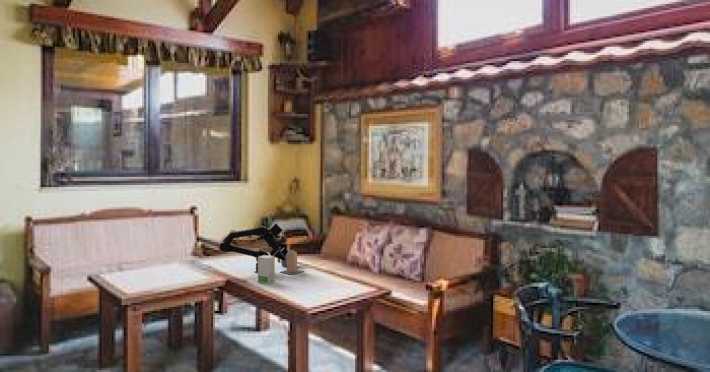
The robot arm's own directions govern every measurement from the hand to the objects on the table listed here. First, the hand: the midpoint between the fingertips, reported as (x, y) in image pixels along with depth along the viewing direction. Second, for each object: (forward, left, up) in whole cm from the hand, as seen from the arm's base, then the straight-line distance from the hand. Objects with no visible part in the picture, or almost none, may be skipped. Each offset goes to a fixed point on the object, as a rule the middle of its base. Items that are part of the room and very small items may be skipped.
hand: (287, 258), depth 338 cm
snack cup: (+12, +14, -9) cm, 21 cm away
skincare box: (-24, -8, -9) cm, 27 cm away
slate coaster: (+2, -2, -9) cm, 9 cm away
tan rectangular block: (+2, -2, -8) cm, 9 cm away
